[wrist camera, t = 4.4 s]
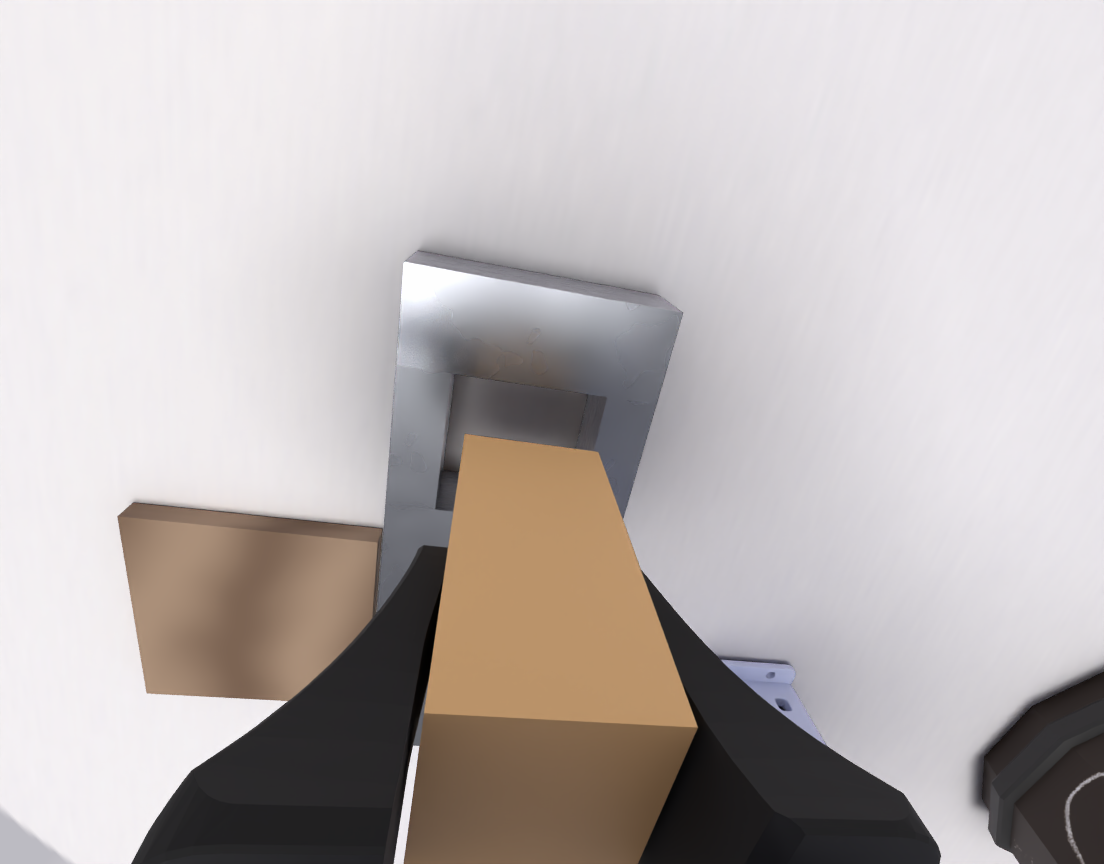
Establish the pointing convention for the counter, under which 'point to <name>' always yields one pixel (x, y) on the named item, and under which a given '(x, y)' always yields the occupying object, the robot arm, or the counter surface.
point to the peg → (544, 673)
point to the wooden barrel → (1051, 780)
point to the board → (244, 598)
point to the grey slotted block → (512, 379)
